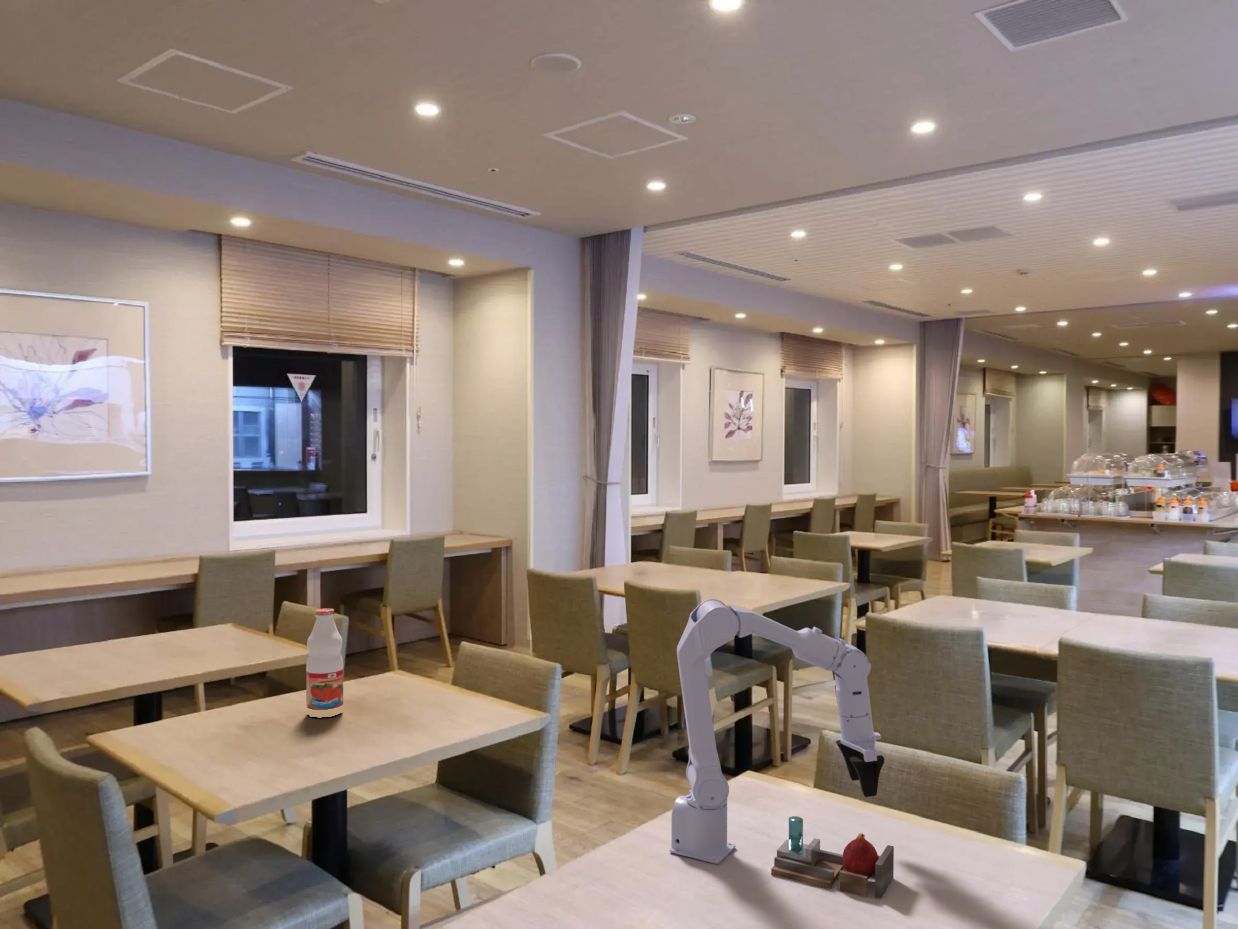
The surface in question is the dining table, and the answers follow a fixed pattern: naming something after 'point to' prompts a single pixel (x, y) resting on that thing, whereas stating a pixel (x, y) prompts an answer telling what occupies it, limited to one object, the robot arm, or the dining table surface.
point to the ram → (799, 845)
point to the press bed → (838, 873)
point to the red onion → (860, 857)
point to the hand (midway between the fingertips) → (863, 787)
